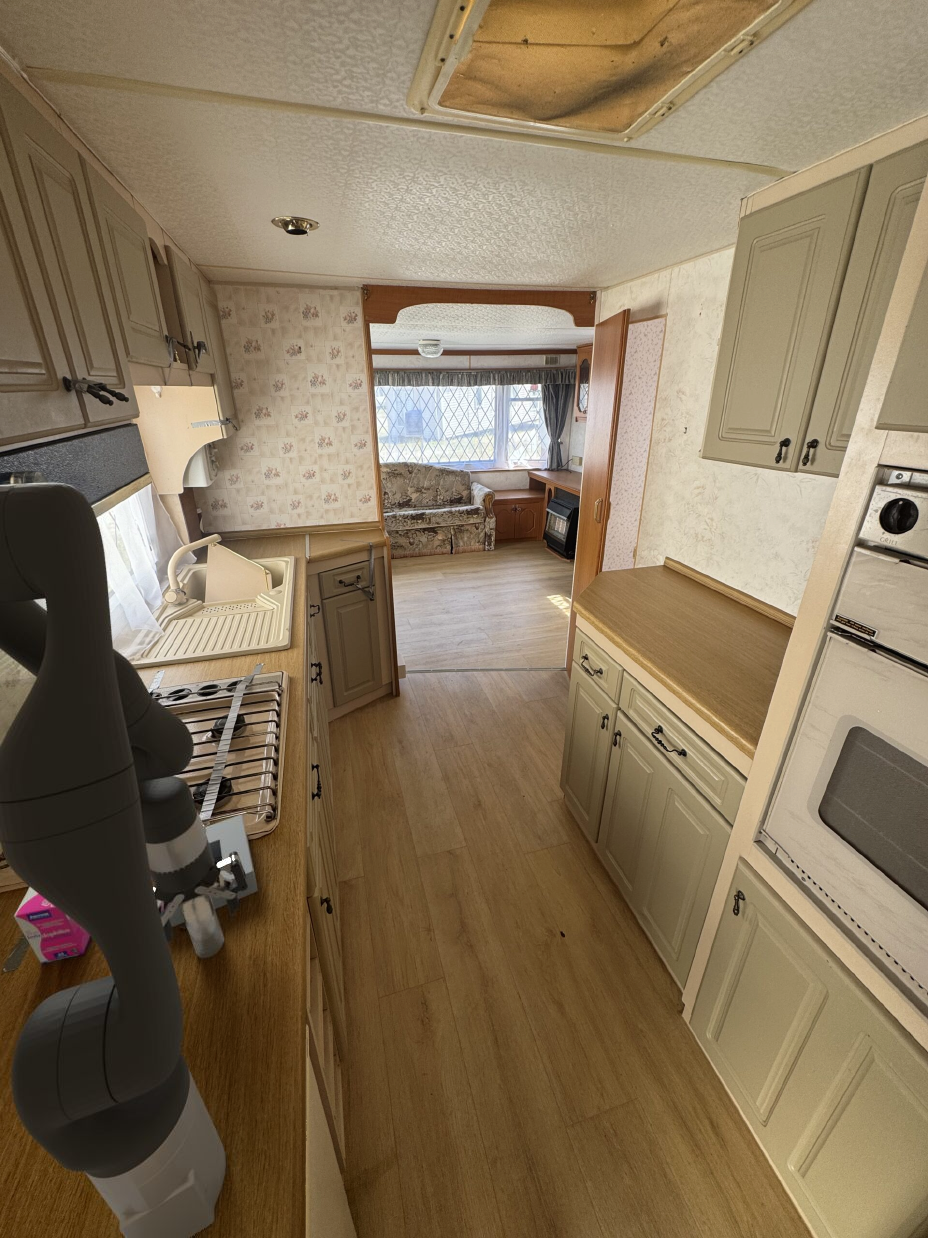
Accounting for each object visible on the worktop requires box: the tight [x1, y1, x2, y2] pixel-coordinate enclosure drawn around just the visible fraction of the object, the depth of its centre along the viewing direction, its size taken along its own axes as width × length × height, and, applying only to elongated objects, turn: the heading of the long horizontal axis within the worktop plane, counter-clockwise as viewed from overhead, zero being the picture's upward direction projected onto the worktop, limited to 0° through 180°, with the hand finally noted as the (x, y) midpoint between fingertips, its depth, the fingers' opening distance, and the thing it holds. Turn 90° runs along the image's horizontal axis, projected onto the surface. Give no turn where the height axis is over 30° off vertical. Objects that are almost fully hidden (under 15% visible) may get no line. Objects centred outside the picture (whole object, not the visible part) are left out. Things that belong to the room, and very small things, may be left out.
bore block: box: [157, 814, 259, 928], centre depth 88 cm, size 14×14×5 cm
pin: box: [179, 894, 225, 959], centre depth 75 cm, size 4×4×12 cm
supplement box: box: [13, 886, 92, 965], centre depth 76 cm, size 6×6×12 cm
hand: (202, 923), depth 76 cm, fingers open, 8 cm apart
